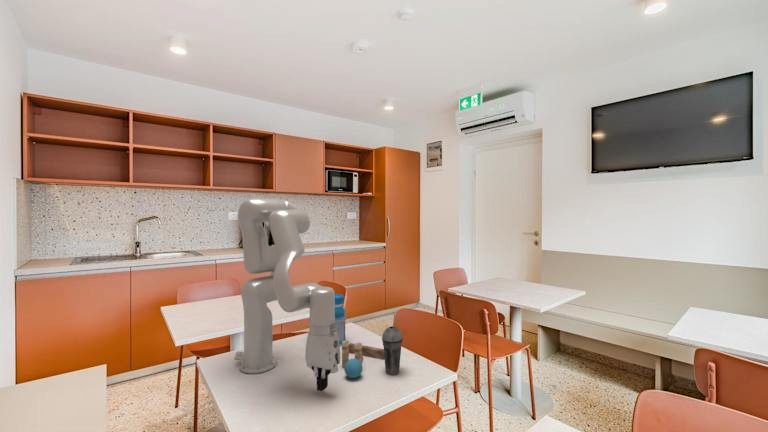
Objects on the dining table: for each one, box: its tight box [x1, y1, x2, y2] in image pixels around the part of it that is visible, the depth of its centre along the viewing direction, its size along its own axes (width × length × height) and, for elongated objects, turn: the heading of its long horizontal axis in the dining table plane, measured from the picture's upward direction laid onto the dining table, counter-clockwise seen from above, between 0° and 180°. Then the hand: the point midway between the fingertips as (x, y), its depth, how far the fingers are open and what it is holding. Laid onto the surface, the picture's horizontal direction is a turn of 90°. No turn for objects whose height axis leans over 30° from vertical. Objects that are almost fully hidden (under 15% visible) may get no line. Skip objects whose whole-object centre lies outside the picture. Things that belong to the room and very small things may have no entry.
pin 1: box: [341, 339, 350, 369], centre depth 119 cm, size 2×2×9 cm
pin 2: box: [354, 342, 363, 365], centre depth 117 cm, size 2×2×9 cm
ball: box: [343, 358, 363, 379], centre depth 111 cm, size 6×6×6 cm
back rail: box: [349, 342, 385, 361], centre depth 129 cm, size 16×2×3 cm, turn 66°
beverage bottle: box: [335, 293, 347, 346], centre depth 141 cm, size 8×8×20 cm
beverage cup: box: [381, 313, 404, 376], centre depth 115 cm, size 7×7×20 cm
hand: (322, 388), depth 101 cm, fingers closed
